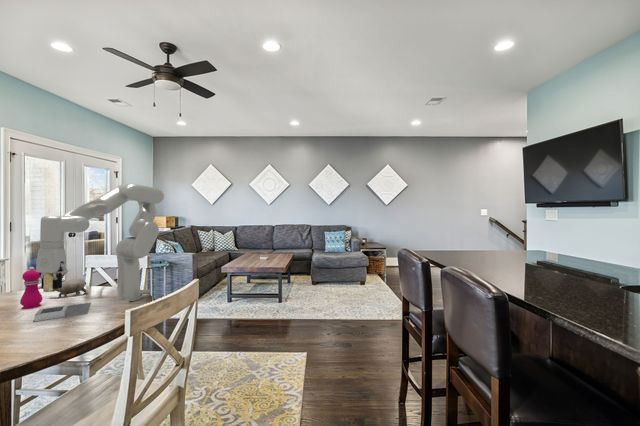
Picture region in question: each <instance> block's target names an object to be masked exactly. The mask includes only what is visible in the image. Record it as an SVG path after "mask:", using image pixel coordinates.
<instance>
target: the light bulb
mask: <svg viewBox="0 0 640 426" xmlns="http://www.w3.org/2000/svg"><path fill="white" fill-rule="evenodd" d="M57 272H58V271H57ZM58 274H59V273H57V275H58ZM53 280H54V276H53V273H44V283H43V288H42V290H43V293H52V292H53V291H54V292H57V291H58V290H60V288H58V289H53Z"/></svg>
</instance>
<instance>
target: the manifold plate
mask: <svg viewBox="0 0 640 426" xmlns="http://www.w3.org/2000/svg"><path fill="white" fill-rule="evenodd" d="M91 305H92V302H85V303H77V304H69V305H68V304H66V305H60V306H52V307H51V306H50V307H44V308H39V310H37V312H36V313H35V314H34V320H33V321H32V323H38V322H43V321H51V320H57V319H64V318H70V317H77V316H83V315H88V313H89V311H90V307H91Z"/></svg>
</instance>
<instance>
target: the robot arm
mask: <svg viewBox="0 0 640 426" xmlns="http://www.w3.org/2000/svg"><path fill="white" fill-rule="evenodd" d="M164 195H165V194H164V193H163V191H162V189H159V188H158V187H153V186H148V185H147V186H146V185H141V184H137V183H136V184H135V183H123V184H120V185H117V186H116V187H114V188H112V189H111V190H108V191H107V192H106V193H104V194H103V195H100V196H99V197H96V198H95V199H93V200H90V201H88V202H86V203H84V204H81V205H79V206H78V207H76V208H73V209H72V210H70V211H69V212H67V213H66V214H64V215H62V216H60V215H59V216H58V215H46V216H42V217H41V218H40V230H39V231H40V233H39V239H40V240H39V249H38V251H37V254H36V262H35V264H36V265H35V270H36V271H37V272H38V273H39V275H40V276H41V277H40V278H39V279H40V280H41V285H40V288H41V289H43V283H44V273H53V276H54V280H53V289H58V288H62V282H63V279H64V276H65V275H66V274H68V272H69V270H68V269H67V254H66V249H65V247H66V246H65V241H66V240H65V239H66V237H65V236H66V234H65V233H75V234H76V233H84V232H85V231H87V230H88V229H89V228H90V225H91V224H90V221H89V220H91V219H93V218H97V217H100V216H104V215H108V214H110V213H112V212H114V211H115V210H116V209H118V208H120V207H121V206H123V205H124V204H126V203H127V202H129V201H136V202H137V204H138V212H137V214H136V216H135V217H134V218H133V221H132V222H131V224H130V226H129V228H128V233H129V235H130V237H131V236H132V238H124V239H121V240H119V241H118V243H117V244H116V246H115V254H116V260H117V284H116V286H117V287H116V288H117V293H116V294H117V296H116V298H117V299H118V300H128V302H129V303H131V302H130V301H132V302H136V301H139V300H141V299H142V298H144V297H143V295H147V294H150V289H141V287H140V275H141V274H140V270H141V269H140V267H141V265H140V259H142V258H145V257H146V256H147V255H148V254H149V253H150V251H151V249H152V248H153V246H154V243H155V242H156V240H157V237H158V236H159V234H160V233H159V232H160V228H159V226H158V223H156V222H155V219H156V216H157V208H156V205H158V204H160V203H162V202H163V200H164V198H165V196H164ZM57 271H58V272H57ZM57 273H59V274H58V275H57Z"/></svg>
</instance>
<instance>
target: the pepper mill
mask: <svg viewBox="0 0 640 426" xmlns="http://www.w3.org/2000/svg"><path fill="white" fill-rule="evenodd" d="M40 277H41V276H40V275H39V273H38V272H37V271H36V269H35V267H34V266H30V267H29V268H28V270H27V271H26V270H25V272H23V274H22V276H21V278H22V280H24V281H23V285H24V292H23V294H22V296H21V297H20V301H19V304H20V305H21V306H22V307H21V310H29V309H31V310H32V309H36V308H39V307H42V305H41V303H42V301H43V300H44V299H43V296H42V294H41V292H40V289H39V283H40V279H41V278H40Z"/></svg>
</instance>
